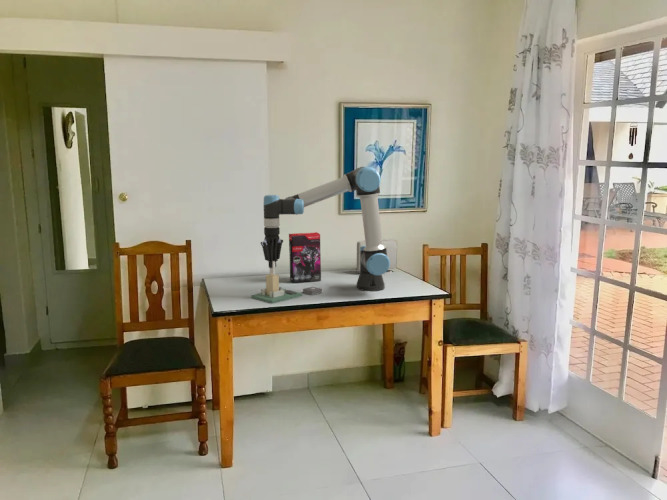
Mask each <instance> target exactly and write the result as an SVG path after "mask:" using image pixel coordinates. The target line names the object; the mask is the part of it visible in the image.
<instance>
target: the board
mask: <svg viewBox="0 0 667 500" xmlns="http://www.w3.org/2000/svg"><path fill="white" fill-rule="evenodd" d="M250 296H251V298H252V299H255V300H259V301H262V302H265V303H266V302H267V303H270V304H276V303H280V302H283V301H289V300H291V299H295V298H299V297H303V292H298V291H293V290H290V289H286V288H282V286H279V291H276V292H270V295H266V288H262V289H261V290H260V293H253V294H251V295H250Z"/></svg>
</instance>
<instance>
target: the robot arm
mask: <svg viewBox="0 0 667 500" xmlns="http://www.w3.org/2000/svg"><path fill="white" fill-rule="evenodd" d="M380 184H381V176H380V173H379V172H378V170H377V169H376V168H374V167H372V166H360V167H357V168H355V169H354V170H351V171H350V172H347V173H345V174H343V175H342V177H340V178H337V179H335V180H331V181H329V182H327V183H324V184H320V185H318V186H316V187H315V186H314V187H313V188H310V189H307V190H305V191H302V192H300V193H297V194H294V195H291V196H288V197H285V198H283V199H282V198H280V195H277V194H266V195H264V196H263V225H264V228H263V233H264V240H263V241H261V242H260V245H261V247H262V252H263V256H264V260H265V261H267V263H268V268H269V274H273V275H274V274H275V275H277V274H276V273H277V272H276V271H277V270H276V268H277V262H278V261H279V259H281V258H280V257H281V251H282V245H283V243H284V239H281V238H280V236H279V235H280V234H281V232H280V231H281V230H280V229H281V228H280V225H281V224H280V215H303V214H304V213H305V211H304V210H305V208H306V207H309V206H311V205H315V204H316V203H319V202H323V201H325V200H328V199H331V198H332V197H335V196H338V195H341V194H343V193H348V192H350V193H352V192H354V191H355V192H356V197H358V198H359V200H360V207H361V216H362V223H363V224H362V225H363V232H364V233H363V235H364V241H365V242H366V246H361V248H360V271H359V275H358V277H357V278H358V279H357V280H356V284H355V285H356V289H358V290H360V291H367V292H377V291H382V290H384V289H385V288H386V287H385V286H386V285H385V282H384V278H383V275H385V274H384V273H386V272H388V269H389V267H390V260H389V258H388V257H387V250H386V246H385V245H384V244H383V241H382V240H383V236H382V235H383V233H382V224H381V216H380V206H379V198H378V197H379V195H380V194H381V191H380V190H381V188H380ZM389 270H390V269H389Z"/></svg>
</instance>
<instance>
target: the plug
mask: <svg viewBox="0 0 667 500" xmlns="http://www.w3.org/2000/svg"><path fill="white" fill-rule="evenodd" d="M265 284H266V285H265V287H266V288H265V289H266V295H270V292H276V291H279V287H280V277H279V275H278V274H274V275H273V274H270V273H268V274H266V275H265Z"/></svg>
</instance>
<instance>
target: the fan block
mask: <svg viewBox="0 0 667 500" xmlns="http://www.w3.org/2000/svg"><path fill="white" fill-rule="evenodd" d="M302 293H304V294H306V295H311V296H313V295H314V296H315V295H318V294H321V293H323V289H322V288H320V287H316V286H310V287H306V288H305V287H304V288H302Z"/></svg>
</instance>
